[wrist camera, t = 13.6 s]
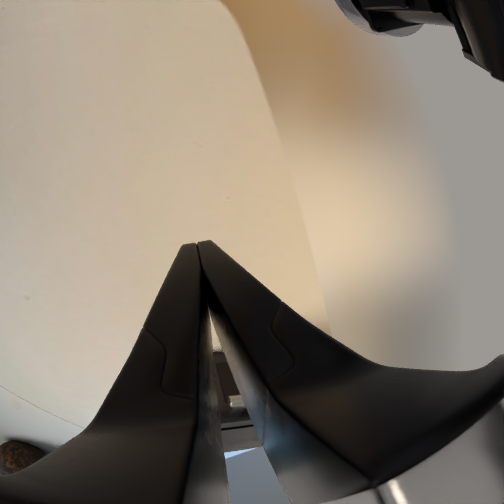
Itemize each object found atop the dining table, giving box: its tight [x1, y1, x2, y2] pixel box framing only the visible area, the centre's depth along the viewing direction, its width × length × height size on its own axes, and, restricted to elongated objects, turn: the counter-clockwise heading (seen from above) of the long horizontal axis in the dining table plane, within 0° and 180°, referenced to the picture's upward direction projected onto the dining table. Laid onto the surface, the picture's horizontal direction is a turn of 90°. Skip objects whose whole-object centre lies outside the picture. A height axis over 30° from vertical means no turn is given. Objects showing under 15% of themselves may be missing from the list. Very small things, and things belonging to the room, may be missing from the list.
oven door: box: [213, 353, 253, 428], centre depth 30 cm, size 4×10×9 cm, turn 75°
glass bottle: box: [0, 441, 46, 475], centre depth 33 cm, size 18×18×28 cm
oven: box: [221, 424, 263, 452], centre depth 34 cm, size 10×10×9 cm
